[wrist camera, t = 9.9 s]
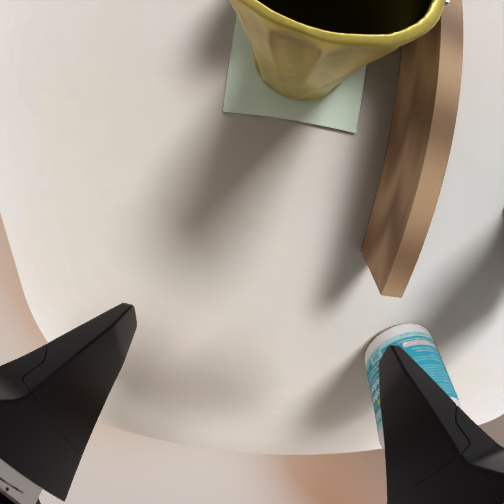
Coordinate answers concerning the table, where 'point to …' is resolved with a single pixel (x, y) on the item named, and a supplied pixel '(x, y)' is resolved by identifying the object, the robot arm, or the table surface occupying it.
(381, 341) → the pill bottle
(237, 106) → the mat
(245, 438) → the table surface
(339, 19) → the vase
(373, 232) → the back rail
